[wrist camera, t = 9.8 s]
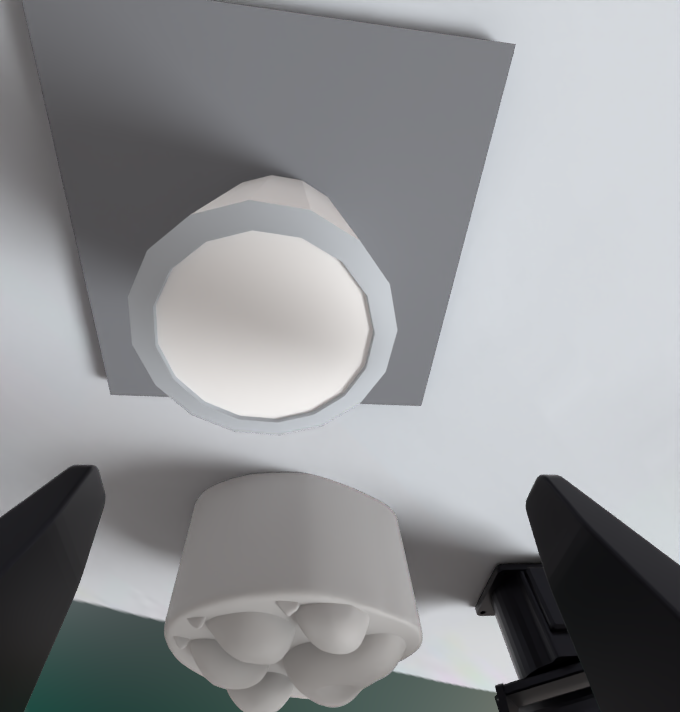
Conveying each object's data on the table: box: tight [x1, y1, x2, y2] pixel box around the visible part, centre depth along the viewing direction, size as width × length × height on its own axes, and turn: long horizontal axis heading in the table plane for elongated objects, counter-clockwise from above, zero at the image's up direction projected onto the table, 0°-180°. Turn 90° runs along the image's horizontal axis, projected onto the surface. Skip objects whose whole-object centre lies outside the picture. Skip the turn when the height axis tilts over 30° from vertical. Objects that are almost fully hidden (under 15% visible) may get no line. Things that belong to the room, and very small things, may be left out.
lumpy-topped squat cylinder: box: [164, 472, 422, 712], centre depth 24 cm, size 10×13×9 cm
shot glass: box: [128, 175, 397, 435], centre depth 14 cm, size 7×7×7 cm
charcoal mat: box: [22, 0, 516, 406], centre depth 17 cm, size 15×15×1 cm
